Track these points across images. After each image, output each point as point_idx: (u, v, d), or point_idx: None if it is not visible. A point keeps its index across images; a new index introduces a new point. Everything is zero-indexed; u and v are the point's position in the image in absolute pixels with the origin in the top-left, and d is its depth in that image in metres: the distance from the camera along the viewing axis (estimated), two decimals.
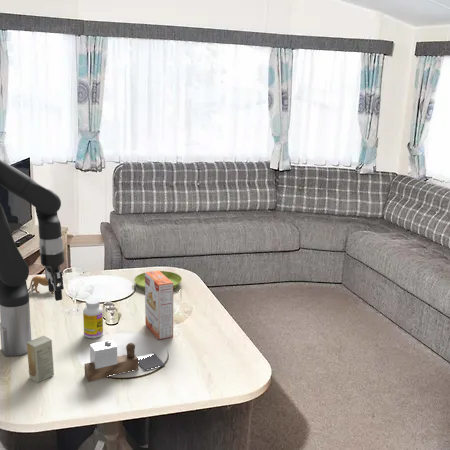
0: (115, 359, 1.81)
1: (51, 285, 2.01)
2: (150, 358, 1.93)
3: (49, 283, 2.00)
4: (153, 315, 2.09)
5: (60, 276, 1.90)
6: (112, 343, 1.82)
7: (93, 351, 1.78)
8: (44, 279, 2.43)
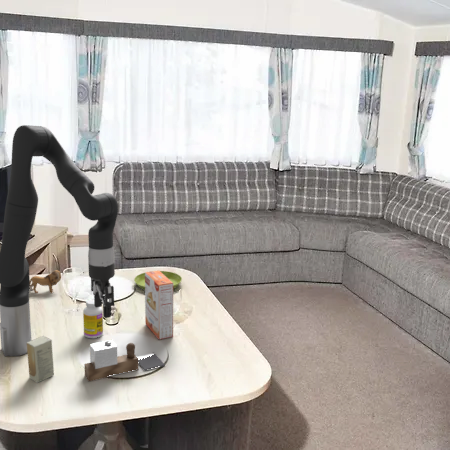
0: (115, 359, 1.81)
1: (97, 300, 1.80)
2: (150, 358, 1.93)
3: (95, 298, 1.80)
4: (153, 315, 2.09)
5: (111, 291, 1.70)
6: (112, 343, 1.82)
7: (93, 351, 1.78)
8: (43, 279, 2.43)
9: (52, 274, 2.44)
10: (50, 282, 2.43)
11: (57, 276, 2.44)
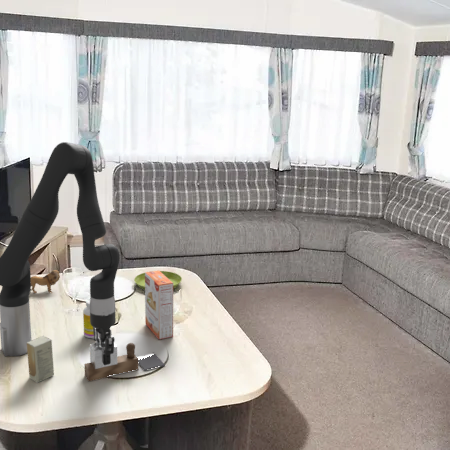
0: (115, 359, 1.81)
1: None
2: (150, 358, 1.93)
3: None
4: (153, 315, 2.09)
5: (112, 342, 1.74)
6: None
7: (93, 351, 1.78)
8: (41, 279, 2.43)
9: (51, 274, 2.44)
10: (48, 282, 2.43)
11: (56, 276, 2.44)
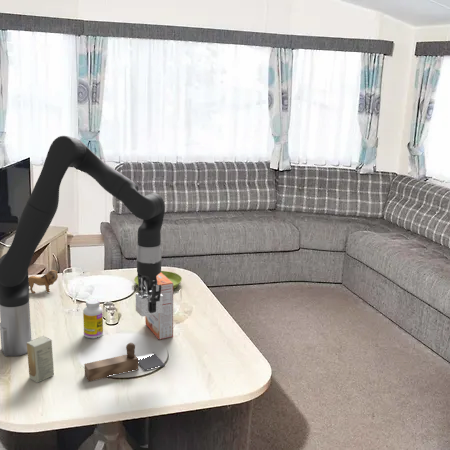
0: (161, 308, 1.86)
1: None
2: (150, 358, 1.93)
3: None
4: (153, 315, 2.09)
5: (159, 289, 1.79)
6: None
7: (140, 299, 1.83)
8: (39, 279, 2.43)
9: (49, 274, 2.44)
10: (47, 282, 2.44)
11: (54, 276, 2.44)
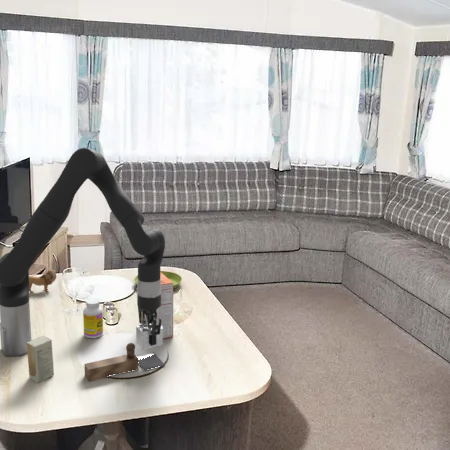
0: (161, 340, 1.89)
1: None
2: (150, 358, 1.93)
3: None
4: None
5: (159, 323, 1.82)
6: None
7: (140, 332, 1.86)
8: (38, 279, 2.43)
9: (47, 274, 2.44)
10: (45, 282, 2.44)
11: (52, 276, 2.44)
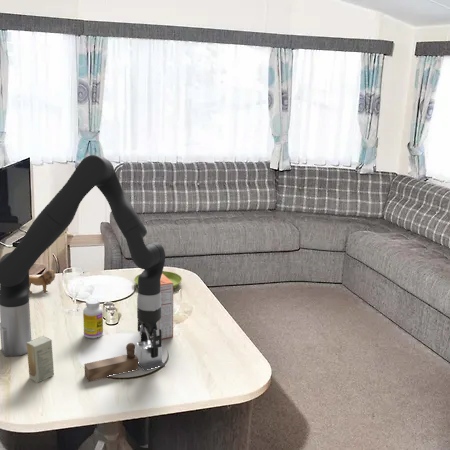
0: (160, 357, 1.90)
1: (144, 340, 1.93)
2: None
3: (142, 338, 1.92)
4: None
5: (159, 334, 1.82)
6: None
7: (140, 349, 1.87)
8: (37, 279, 2.43)
9: (46, 274, 2.44)
10: (44, 282, 2.44)
11: (51, 275, 2.44)
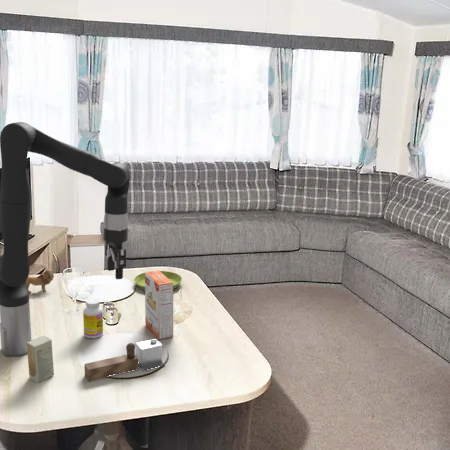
0: (160, 357, 1.90)
1: (110, 264, 1.93)
2: None
3: (109, 262, 1.93)
4: (153, 315, 2.09)
5: (124, 253, 1.83)
6: (157, 342, 1.91)
7: (140, 349, 1.87)
8: (36, 279, 2.43)
9: (45, 273, 2.44)
10: (43, 282, 2.44)
11: (50, 275, 2.44)
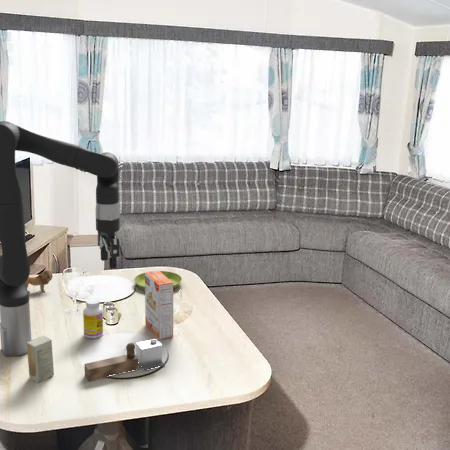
0: (160, 357, 1.90)
1: (104, 254, 1.95)
2: None
3: (102, 251, 1.94)
4: (153, 315, 2.09)
5: (117, 243, 1.84)
6: (157, 342, 1.91)
7: (140, 349, 1.87)
8: (34, 279, 2.43)
9: (44, 273, 2.44)
10: (42, 282, 2.44)
11: (49, 275, 2.44)
